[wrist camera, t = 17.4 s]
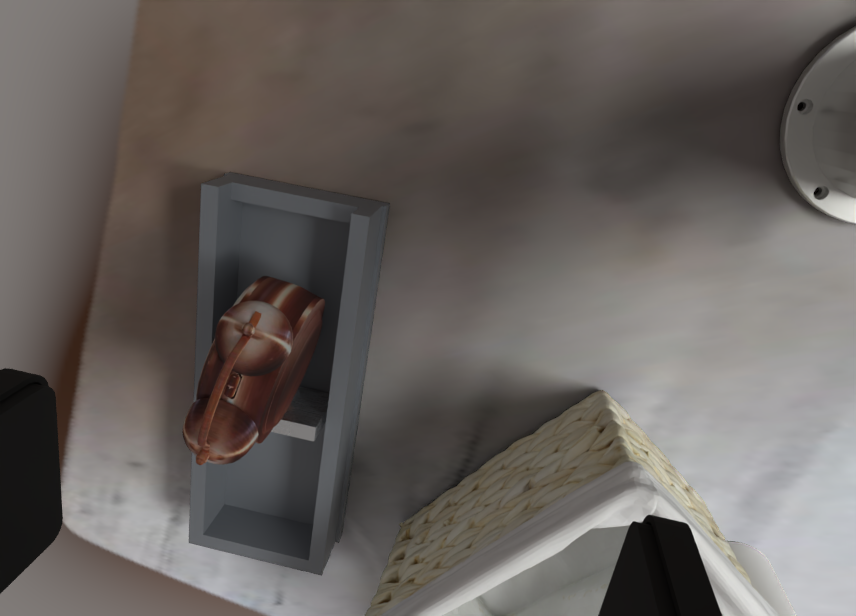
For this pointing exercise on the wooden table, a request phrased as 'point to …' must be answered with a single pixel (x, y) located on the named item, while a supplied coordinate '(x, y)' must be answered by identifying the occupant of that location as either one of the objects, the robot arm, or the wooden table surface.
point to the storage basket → (551, 526)
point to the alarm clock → (252, 369)
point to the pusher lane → (327, 372)
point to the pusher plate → (304, 415)
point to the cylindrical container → (763, 577)
